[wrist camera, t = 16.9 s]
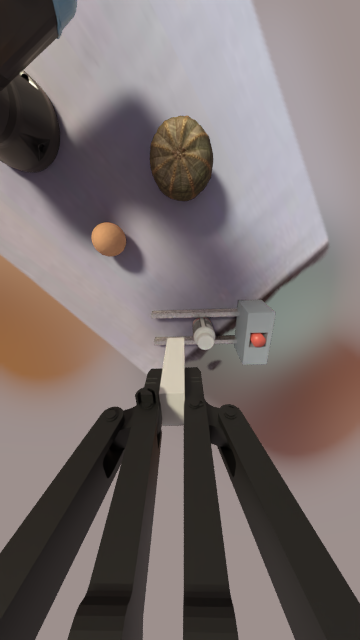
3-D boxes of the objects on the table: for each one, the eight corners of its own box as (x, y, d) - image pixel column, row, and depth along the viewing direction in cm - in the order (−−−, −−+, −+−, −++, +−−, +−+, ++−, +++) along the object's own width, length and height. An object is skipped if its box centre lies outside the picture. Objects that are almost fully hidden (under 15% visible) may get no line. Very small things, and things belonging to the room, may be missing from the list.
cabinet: (234, 345, 57) (242, 364, 49) (238, 300, 51) (248, 313, 43) (254, 345, 57) (266, 364, 49) (261, 299, 51) (275, 312, 43)
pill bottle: (194, 334, 56) (196, 354, 47) (190, 318, 54) (192, 335, 45) (212, 331, 55) (218, 350, 46) (210, 314, 53) (215, 330, 44)
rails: (155, 340, 57) (154, 345, 55) (152, 310, 53) (151, 314, 51) (234, 338, 56) (236, 343, 54) (237, 308, 52) (239, 311, 50)
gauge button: (245, 336, 51) (252, 347, 46) (246, 325, 50) (253, 336, 45) (256, 335, 51) (264, 347, 46) (258, 325, 50) (266, 335, 45)
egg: (108, 257, 48) (92, 262, 39) (96, 228, 45) (77, 226, 37) (134, 250, 47) (123, 253, 39) (123, 219, 44) (110, 216, 36)
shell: (190, 125, 37) (192, 81, 26) (217, 183, 41) (230, 164, 30) (145, 164, 40) (130, 138, 29) (174, 215, 44) (172, 209, 33)
